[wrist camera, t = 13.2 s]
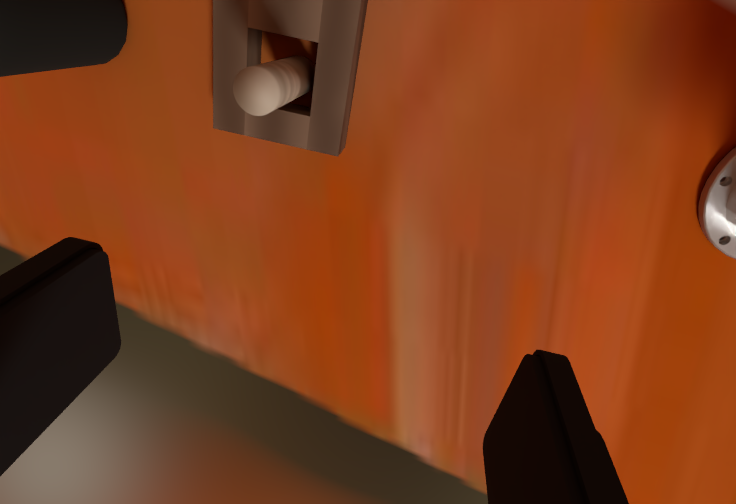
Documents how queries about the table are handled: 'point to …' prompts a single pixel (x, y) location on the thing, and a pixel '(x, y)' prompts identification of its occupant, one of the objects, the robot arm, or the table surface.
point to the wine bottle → (59, 34)
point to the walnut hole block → (332, 73)
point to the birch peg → (273, 84)
